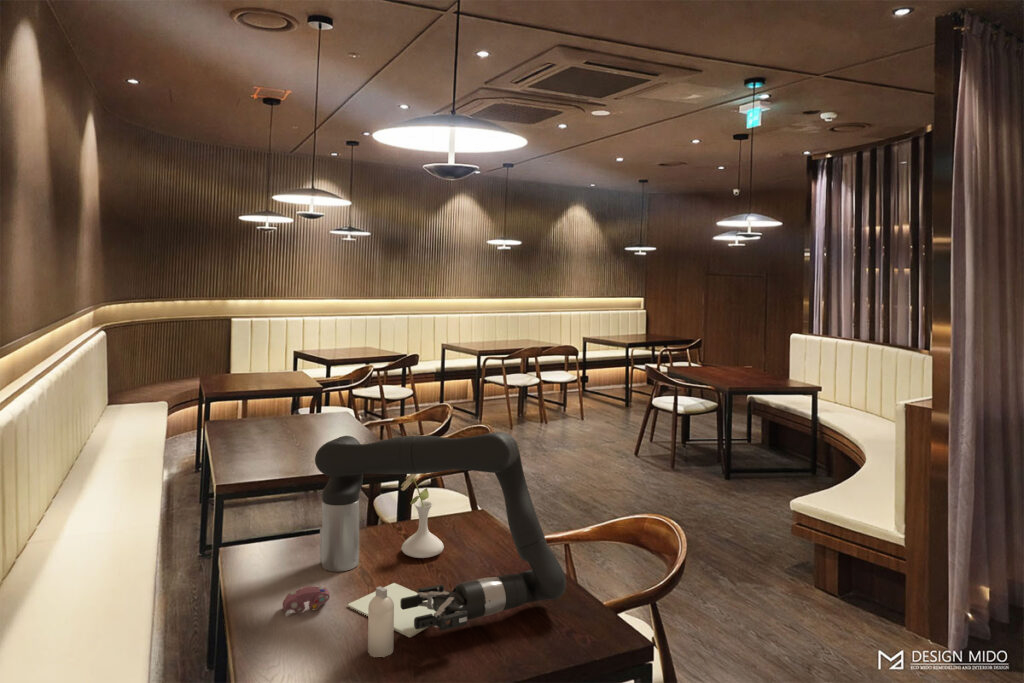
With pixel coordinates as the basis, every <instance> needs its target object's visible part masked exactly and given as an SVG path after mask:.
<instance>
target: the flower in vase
mask: <svg viewBox="0 0 1024 683" xmlns="http://www.w3.org/2000/svg"><path fill="white" fill-rule="evenodd" d="M417 475H418V474H407V475H406V477H405V480H404V481H403V482H402V484H401V485H400V487H401V488H400V490H401V491H403V492H404V491H405V490H406V489H407V488H408V487H409V486H410V485H412V483H414V485H415V487H416V490H417V492H418V495H416V496H414V497H413V498H412V499H411V501H410V505H414V507H415V509H416V510H417V513H418V529H417V531H415V533H414V534H412V535H410V536H409V537H408V538H407V539H405V541H403V543H402V545H401V551H402V552H403V554H404V555H406V556H408V557H412V558H417V559H424V558H425V559H427V558H431V557H432V558H433V557H434V556H437V555H439V554H441V553H442V552H443V550H444V548H445V545H444V543H443V542H442V540H441V539H439V538H438V537H437V536H436V535H435V534H433V533H431V532H430V530H429V528H428V517H429V512H430V510H431V508H432V506H433V505H434V504H433V502H432V501H429V500H426V499H429V496H430V494H429V491H428V488H427V487H426V488H424V490H422V491H421V492H420V490H419V486H418V485H417V482H416V480H415V478H416V477H417ZM418 499H419V501H418Z"/></svg>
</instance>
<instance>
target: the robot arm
mask: <svg viewBox="0 0 1024 683" xmlns="http://www.w3.org/2000/svg"><path fill="white" fill-rule="evenodd" d="M314 457H315V458H314V464H315V466H316V468H317V469H318V471H319V472H320V473H322V474H323V475H324V476H326V477H329V479H328V480H327V484H326V485H325V486H324V488H323V489H322V492H321V493H322V494H321V495H322V496H321V498H322V499H321V500H322V501H321V503H322V504H321V508H322V511H321V513H322V516H321V521H322V522H321V523H322V526H321V527H320V528H319V563H320V564H321V567H322V568H323V569H324V570H326V571H329V572H337V573H338V572H345V571H349V570H353V569H354V568H356V567H357V566H358V565H360V564H359V563H360V562H359V561H360V493H361V490H362V487H363V480H364V474H376V475H377V474H378V475H382V474H383V475H410V474H417V475H425V474H426V475H427V474H435V473H442V472H447V471H458V470H459V471H473V472H482V473H483V472H484V473H491V474H494V475H495V476H496V478H497V480H498V482H499V485H500V488H501V490H502V494H503V498H504V504H505V509H506V510H505V511H506V518H507V523H508V527H509V531H510V534H511V538H512V540H513V542H514V543H513V544H514V546H515V549H516V551H517V553H518V556H519V558H520V559H521V560H522V561H524V562H526V563H528V565H529V566H530V568H531V569H528V570H525V571H522V572H519V573H510V574H509V573H508V574H504V575H499V576H494V577H484V578H478V579H475V580H468V581H463V582H459V583H457V584H456V585H455V587H454V589H453V590H445V585H444V584H436V585H431V586H426V587H419V588H417V592H416V593H417V595H415V596H410V597H405V598H402V599H401V601H400V607H401V609H403V610H404V609H409V608H413V607H418V606H424V607H427V608H428V609H431V610H434V611H436V612H435V613H434V616H433V615H432V614H428V615H423V616H419V617H416V618H415V619H414V627H415V629H421V628H425V627H428V628H429V627H434V628H439V631H440V632H441V631H442V632H445V631H448V630H451V629H455V628H459V627H463V626H466V625H468V621H470V620H474V619H478V618H482V617H487V616H491V615H494V614H497V613H500V612H503V611H506V610H510V609H514V608H515V609H516V608H518V607H521V606H522V605H524V604H527V603H528V604H529V603H534V602H540V601H553V600H557V599H560V598H561V597H562V596H563V595H564V594H565V591H566V588H567V579H566V575H565V571H564V570H563V567H562V566H561V563H560V562H559V560H558V559H557V557H556V555H555V553H554V552H553V551H552V549H551V548H550V547H549V545H548V543H547V540H546V536H545V534H544V531H543V528H542V526H541V523H540V521H539V517H538V515H537V512H536V510H535V507H534V504H533V501H532V499H531V495H530V491H529V488H528V485H527V480H526V477H525V473H524V469H523V468H524V467H523V463H522V457H521V453H520V449H519V444H518V443H517V440H516V439H515V437H513V436H512V435H510V434H509V433H507V432H502V431H501V432H500V431H499V432H490V433H489V432H488V433H485V434H479V435H473V436H467V437H457V438H450V437H443V436H437V435H405V436H397V437H391V438H386V439H383V440H378V441H375V442H371V443H370V442H369V443H363V444H362V443H360V441H359V440H358V439H357V438H356V437H354V436H351V435H343V436H339V437H336V438H334V439H332V440H330V441H327V442H325V443H323V444H322V445H321V446H320V447H319V448H318V450H316V453H315V456H314ZM432 599H433V603H432ZM426 600H428V602H424V601H426ZM447 622H449V623H448V624H446V623H447Z"/></svg>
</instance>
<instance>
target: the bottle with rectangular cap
mask: <svg viewBox="0 0 1024 683" xmlns="http://www.w3.org/2000/svg"><path fill="white" fill-rule="evenodd" d="M375 591H376V596H375V597H373V598H372V600H371V601H370V603H369V607H368V619H367V621H368V622H367V623H368V625H367V626H368V627H367V629H368V630H367V653H369V654H370V655H371V656H370V655H369V654H368V655H369V656H370V657H372V656H373V657H372V658H375V657H383V658H387V657H389V656H390V655H392V654H393V653H394V645H395V644H394V641H395V639H394V633H395V630H394V603H393V600H392V599H391V598H390V597H389V596H388V595H387V589H385V588H384V587H383V586H381V585H378V586H377V587H375ZM388 655H389V656H388ZM386 656H387V657H386Z"/></svg>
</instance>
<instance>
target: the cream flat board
mask: <svg viewBox="0 0 1024 683" xmlns="http://www.w3.org/2000/svg"><path fill="white" fill-rule="evenodd" d="M383 588H385V589H387V595H388V596H389V597H390V598H391V599H392V600H393V603H394V632H397V633H399V634H401V635H404V636H406V637H408V638H409V639H410V638H412V637H414V636H416V635H417V634H419V633H420V632H422V631H424V630H426V629H428V628H429V627H425V628H421V629H415V627H414V619H415V618H416V617H419V616H423V615H428V614H432V615H433V616H434V613H435V612H436V611H434V610H431V609H428V608H427V607H424V606H418V607H413V608H409V609H404V610H403V609H401V607H400V601H401V599H402V598H405V597H410V596H415V595H417V592H416V591H414V590H412V589H409V588H407V587H405V586H403V585H400V584H398V583H396V582H393V583H391V584H388V585H386V586H384V587H383ZM375 596H376V590H374V591H373V592H370V593H368V594H367V595H364V596H362V597H361V598H358V599H356V600H354V601H352V602H350V603H348V604H347V608H349V607H350V608H349V609H351V610H353V609H354V610H353V611H355V610H356V611H355V612H357V611H358V614H361V613H362V614H361V615H363V614H364V615H363V616H365V615H366V616H365V617H367V616H368V607H369V603H370V601H371V600H372V598H373V597H375ZM433 600H434V599H432V603H433ZM424 602H428V600H426V601H424Z"/></svg>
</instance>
